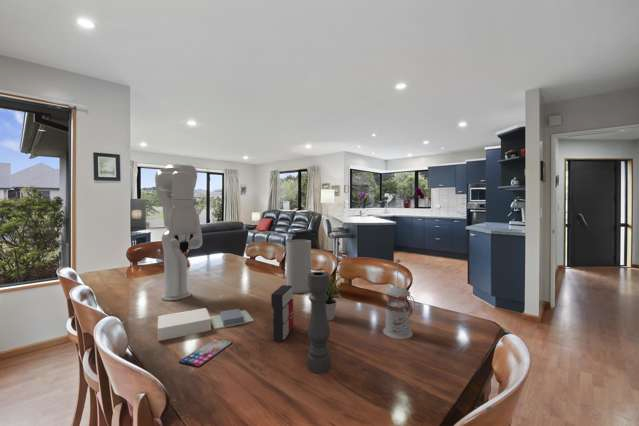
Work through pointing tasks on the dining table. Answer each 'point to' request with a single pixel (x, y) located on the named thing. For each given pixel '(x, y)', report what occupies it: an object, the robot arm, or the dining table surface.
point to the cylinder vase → (298, 264)
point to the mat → (218, 324)
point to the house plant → (331, 299)
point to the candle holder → (318, 324)
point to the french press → (398, 313)
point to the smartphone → (205, 353)
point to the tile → (231, 317)
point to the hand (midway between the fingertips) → (184, 251)
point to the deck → (183, 323)
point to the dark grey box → (282, 312)
